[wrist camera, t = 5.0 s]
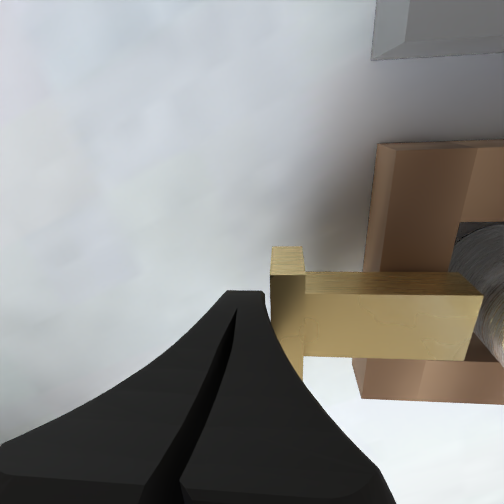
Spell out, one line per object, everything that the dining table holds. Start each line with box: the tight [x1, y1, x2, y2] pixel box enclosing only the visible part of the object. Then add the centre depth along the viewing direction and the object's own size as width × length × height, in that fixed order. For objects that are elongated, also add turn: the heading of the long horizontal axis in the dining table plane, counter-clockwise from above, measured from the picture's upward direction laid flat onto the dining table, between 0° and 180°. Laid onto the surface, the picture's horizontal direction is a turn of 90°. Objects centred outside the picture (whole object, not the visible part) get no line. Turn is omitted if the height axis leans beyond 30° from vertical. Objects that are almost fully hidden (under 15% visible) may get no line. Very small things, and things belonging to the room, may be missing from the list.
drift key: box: [270, 246, 484, 381], centre depth 10 cm, size 6×4×2 cm, turn 93°
